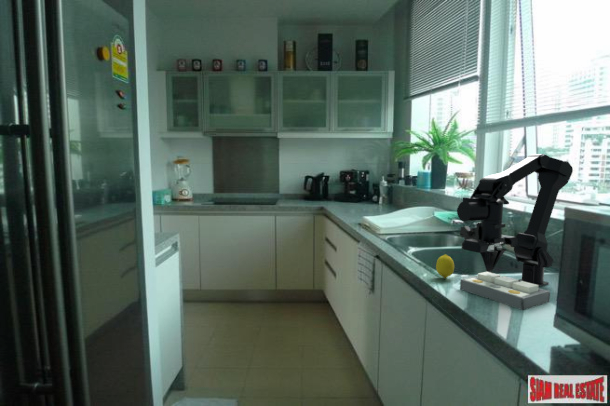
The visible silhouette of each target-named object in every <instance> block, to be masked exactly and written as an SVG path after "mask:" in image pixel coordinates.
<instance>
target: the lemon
mask: <svg viewBox="0 0 610 406" xmlns="http://www.w3.org/2000/svg"><path fill="white" fill-rule="evenodd" d="M454 262H455V261H454V260H453V258H451V256H449V255H448V254H446V253H445V254H443V255H441V256H439V257H438V259H437V260H436V265H435V269H436V272H437V273H438V275H439V276H441V277H442V278H443V279H447V278H448V277H450V276H452V275H453V274H454V270H455V263H454Z"/></svg>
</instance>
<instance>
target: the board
mask: <svg viewBox="0 0 610 406" xmlns="http://www.w3.org/2000/svg"><path fill="white" fill-rule="evenodd" d="M459 285H460V286H459V289H460V290H462V291H464V292H468V293H471V294H473V295H477V296H479V297H483V298H486V299H488V298H489V299H488V300H491V299H492V300H491V301H495V302H497V303H501V304H503V305H507V306H510V307H513V308H515V309H519V310H522V311H525V310H527V309H528V310H529V309H532V308H535V307H537V306H541V305H544V304H548V303H550V297H551V291H550V290H548V289H543V288H540V287H538V291H537V292H534V293H530V294H528V293H525V292H521V291H518V290H515V289H513V287H511V288H508V287H504V286H501V285H497V284H494V282H492V283H490V282H487V281H483V280H480V279H477V275H475V276H470V277H466V278H460V280H459Z"/></svg>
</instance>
